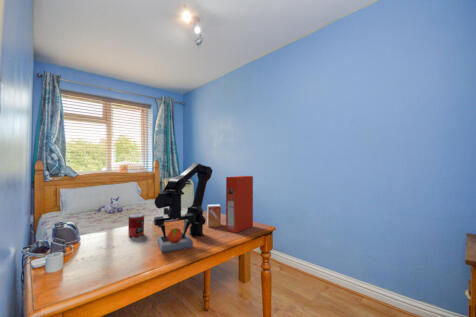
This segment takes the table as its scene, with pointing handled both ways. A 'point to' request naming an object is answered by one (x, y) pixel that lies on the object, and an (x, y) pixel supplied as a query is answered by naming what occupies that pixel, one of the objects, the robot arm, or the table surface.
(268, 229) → the table surface
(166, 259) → the table surface
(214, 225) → the small box
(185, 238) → the tray
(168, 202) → the robot arm
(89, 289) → the table surface
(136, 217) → the canned food
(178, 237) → the clementine
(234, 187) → the file binder
